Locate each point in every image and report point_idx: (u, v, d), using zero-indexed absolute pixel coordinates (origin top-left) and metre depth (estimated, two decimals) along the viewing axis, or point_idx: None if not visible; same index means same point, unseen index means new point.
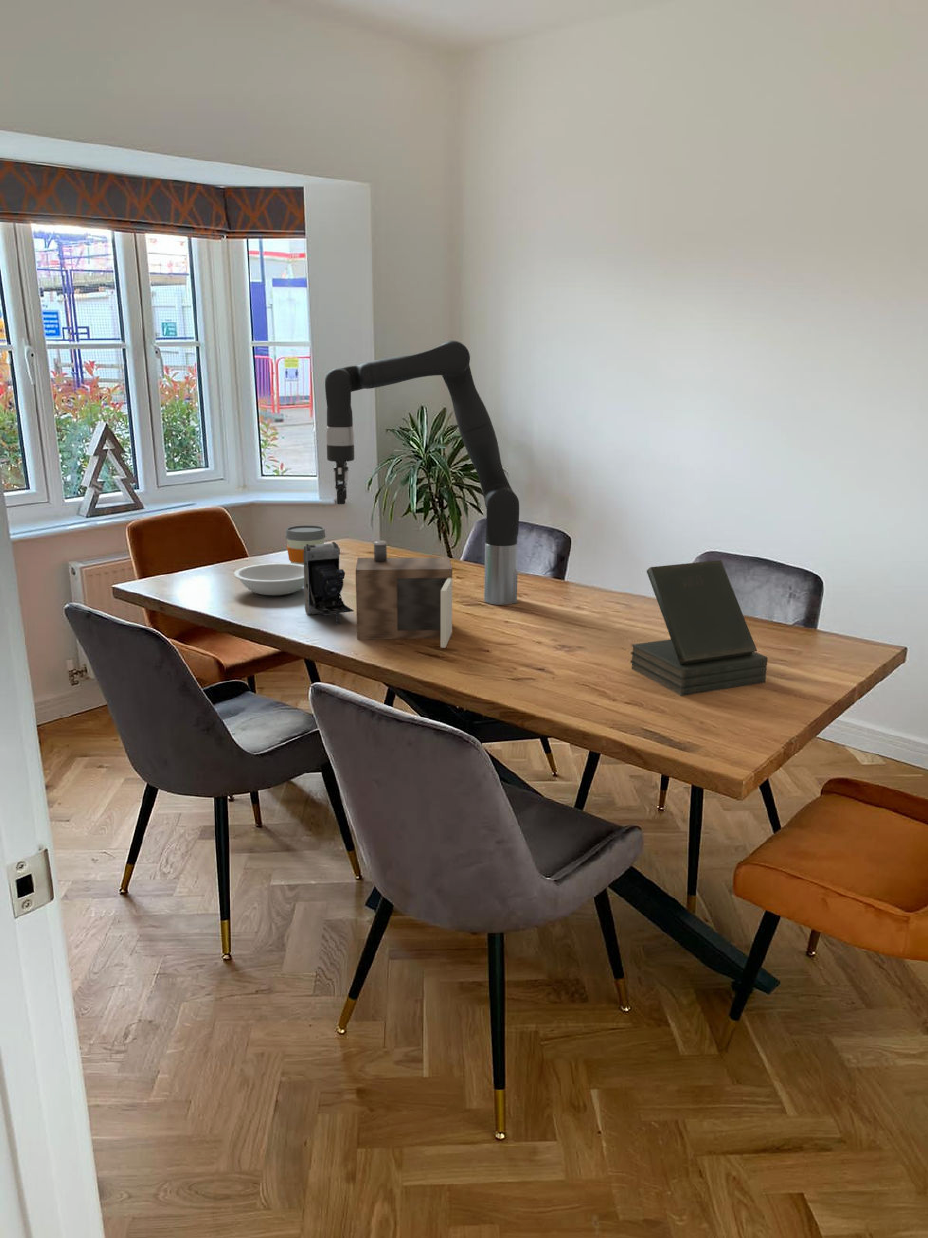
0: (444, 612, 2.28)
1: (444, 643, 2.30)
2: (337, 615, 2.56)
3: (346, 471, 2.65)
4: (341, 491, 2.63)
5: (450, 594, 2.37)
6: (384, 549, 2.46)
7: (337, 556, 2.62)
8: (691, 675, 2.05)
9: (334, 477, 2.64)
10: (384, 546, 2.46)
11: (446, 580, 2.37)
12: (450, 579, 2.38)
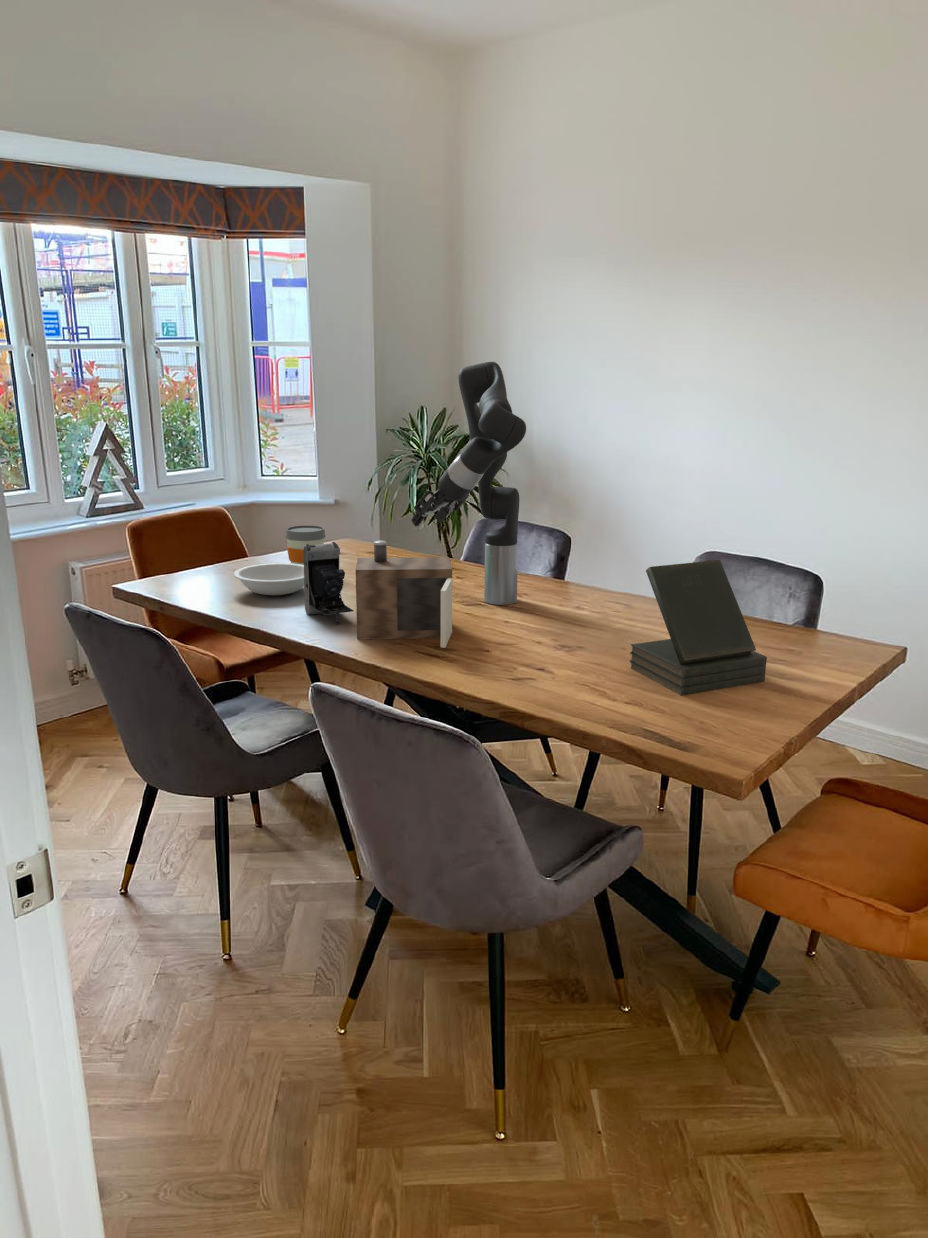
0: (444, 612, 2.28)
1: (444, 643, 2.30)
2: (337, 615, 2.56)
3: None
4: None
5: (450, 594, 2.37)
6: (384, 549, 2.46)
7: (337, 556, 2.62)
8: (691, 674, 2.06)
9: (454, 506, 2.31)
10: (384, 546, 2.46)
11: (446, 580, 2.37)
12: (450, 579, 2.38)
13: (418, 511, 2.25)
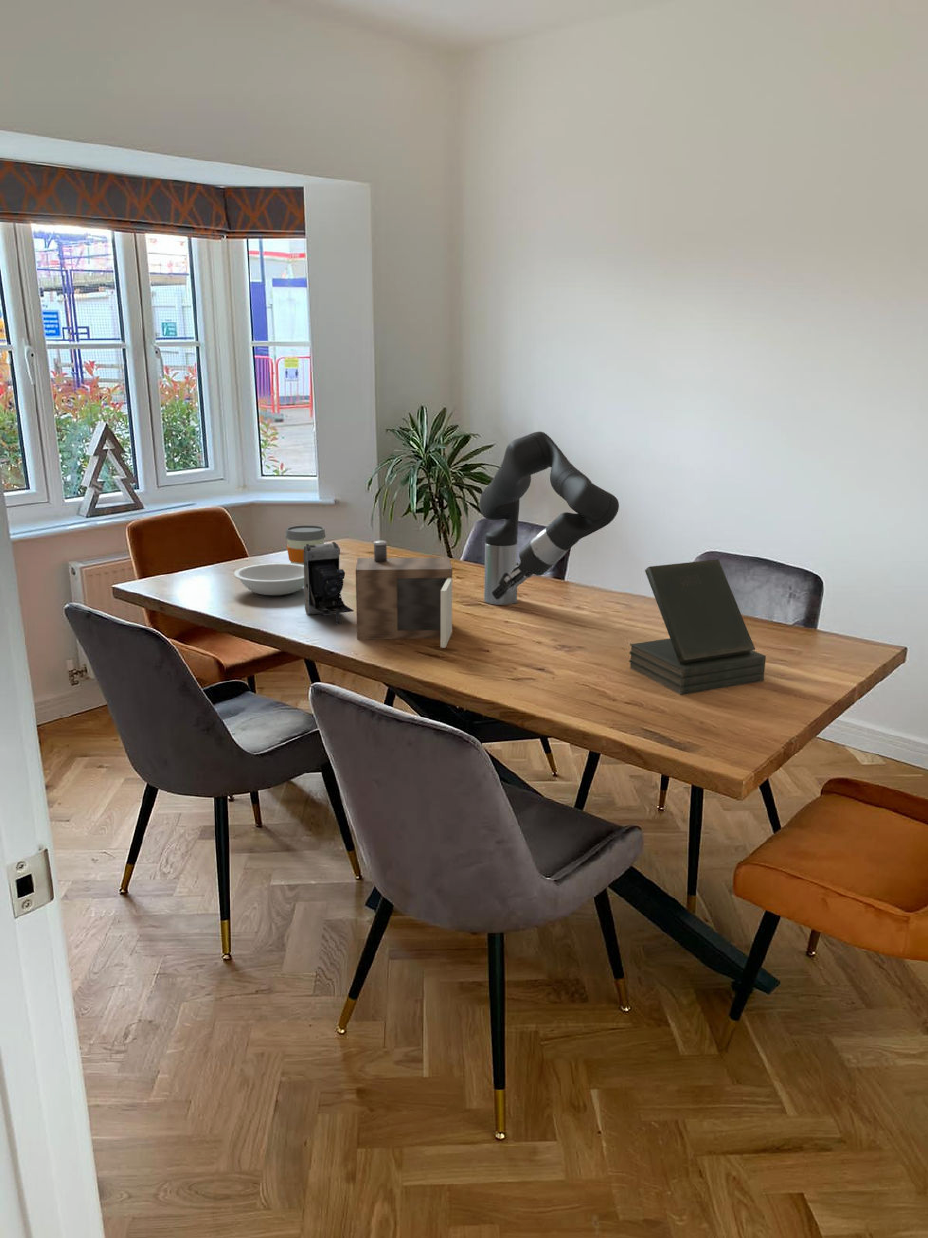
0: (444, 612, 2.28)
1: (444, 643, 2.30)
2: (337, 615, 2.56)
3: None
4: None
5: (450, 594, 2.37)
6: (384, 549, 2.46)
7: (337, 556, 2.62)
8: (691, 674, 2.06)
9: (523, 581, 2.22)
10: (384, 546, 2.46)
11: (446, 580, 2.37)
12: (450, 579, 2.38)
13: (503, 587, 2.19)
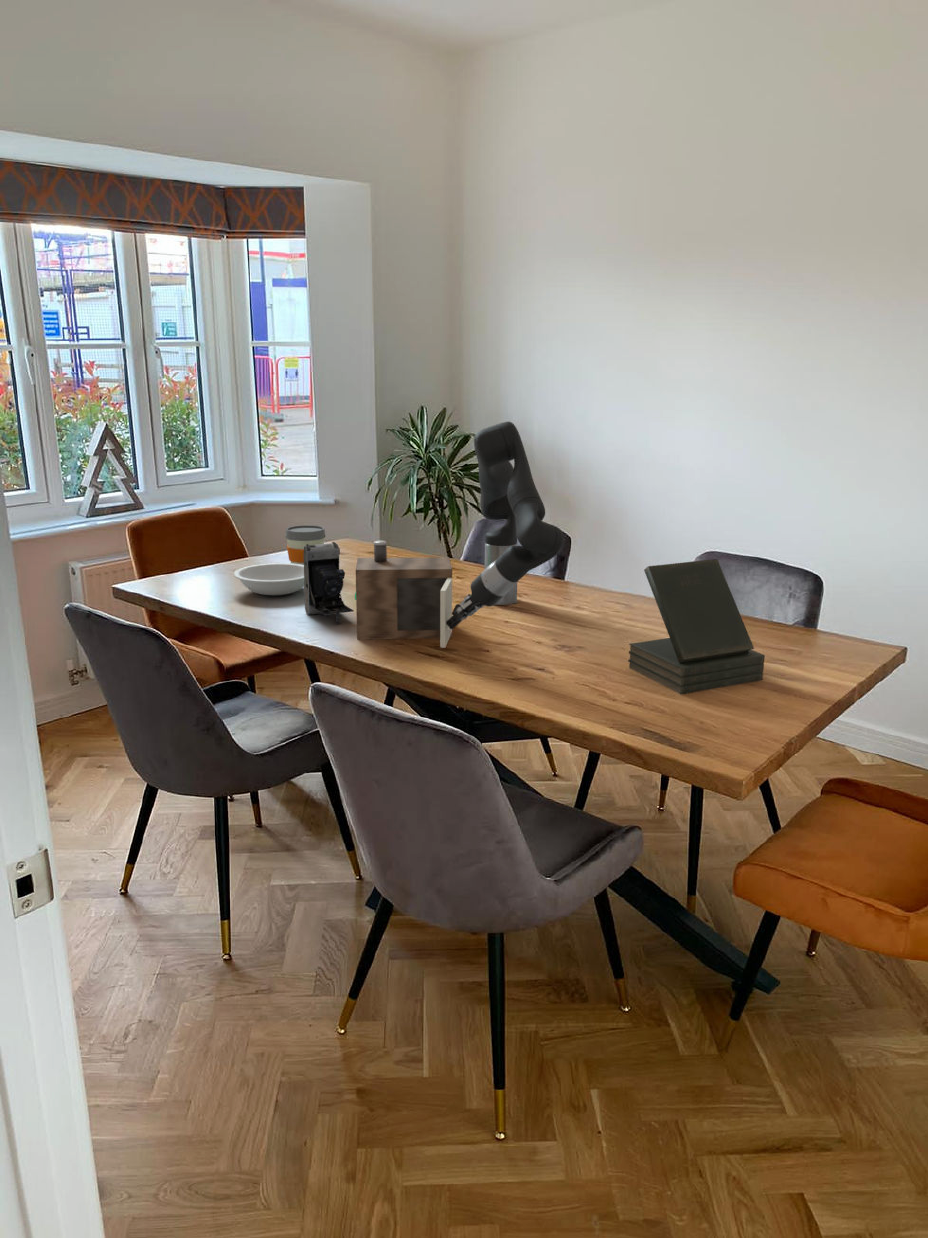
0: (444, 612, 2.28)
1: (444, 643, 2.30)
2: (337, 615, 2.56)
3: None
4: None
5: (450, 594, 2.37)
6: (384, 549, 2.46)
7: (337, 556, 2.62)
8: (690, 673, 2.06)
9: None
10: (384, 546, 2.46)
11: (446, 580, 2.37)
12: (450, 579, 2.38)
13: (456, 618, 2.26)
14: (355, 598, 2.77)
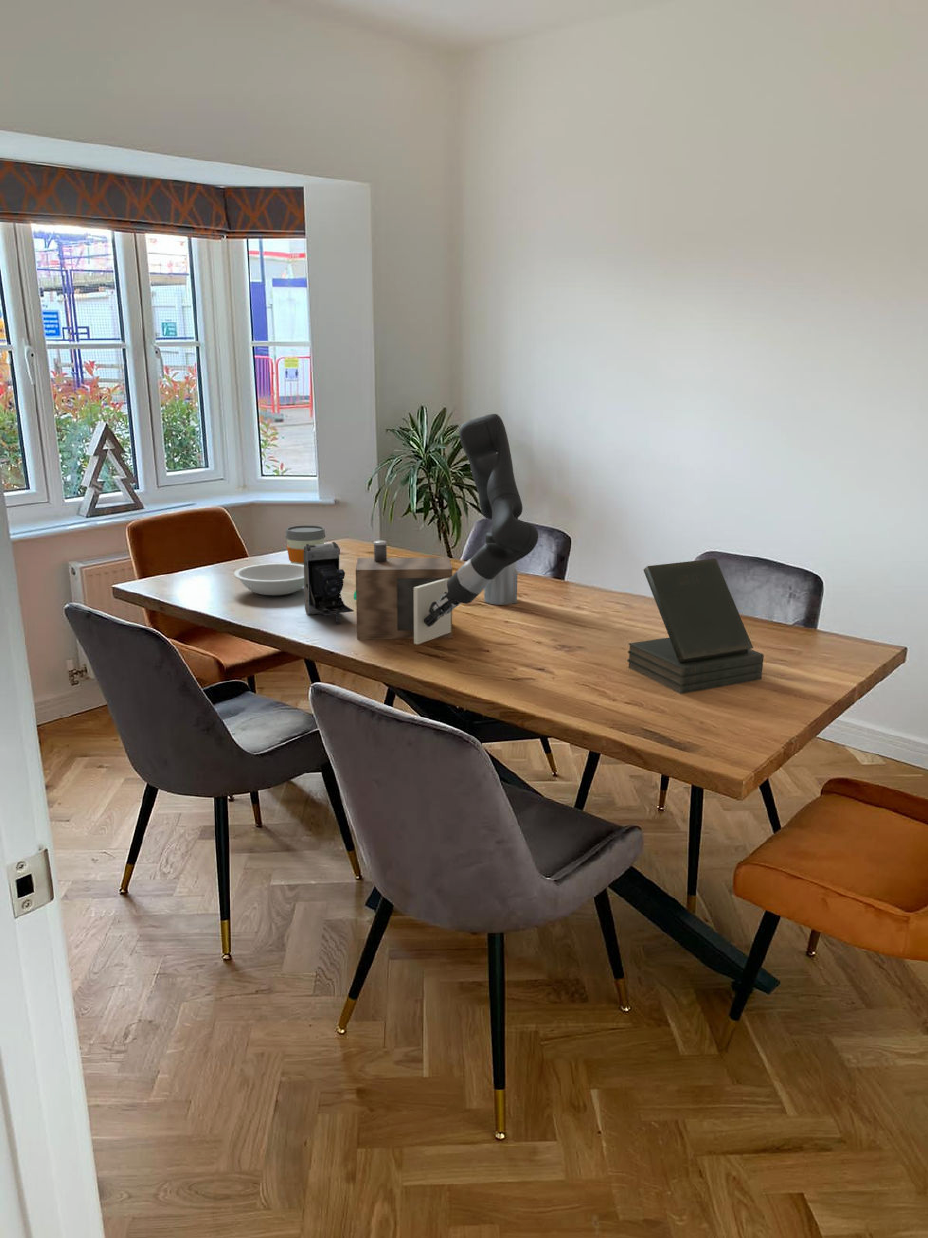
0: (416, 609, 2.30)
1: (416, 640, 2.33)
2: (337, 615, 2.56)
3: None
4: None
5: (442, 593, 2.37)
6: (384, 549, 2.46)
7: (337, 556, 2.62)
8: (690, 673, 2.07)
9: None
10: (384, 546, 2.46)
11: None
12: (446, 579, 2.38)
13: (433, 615, 2.28)
14: (354, 598, 2.77)
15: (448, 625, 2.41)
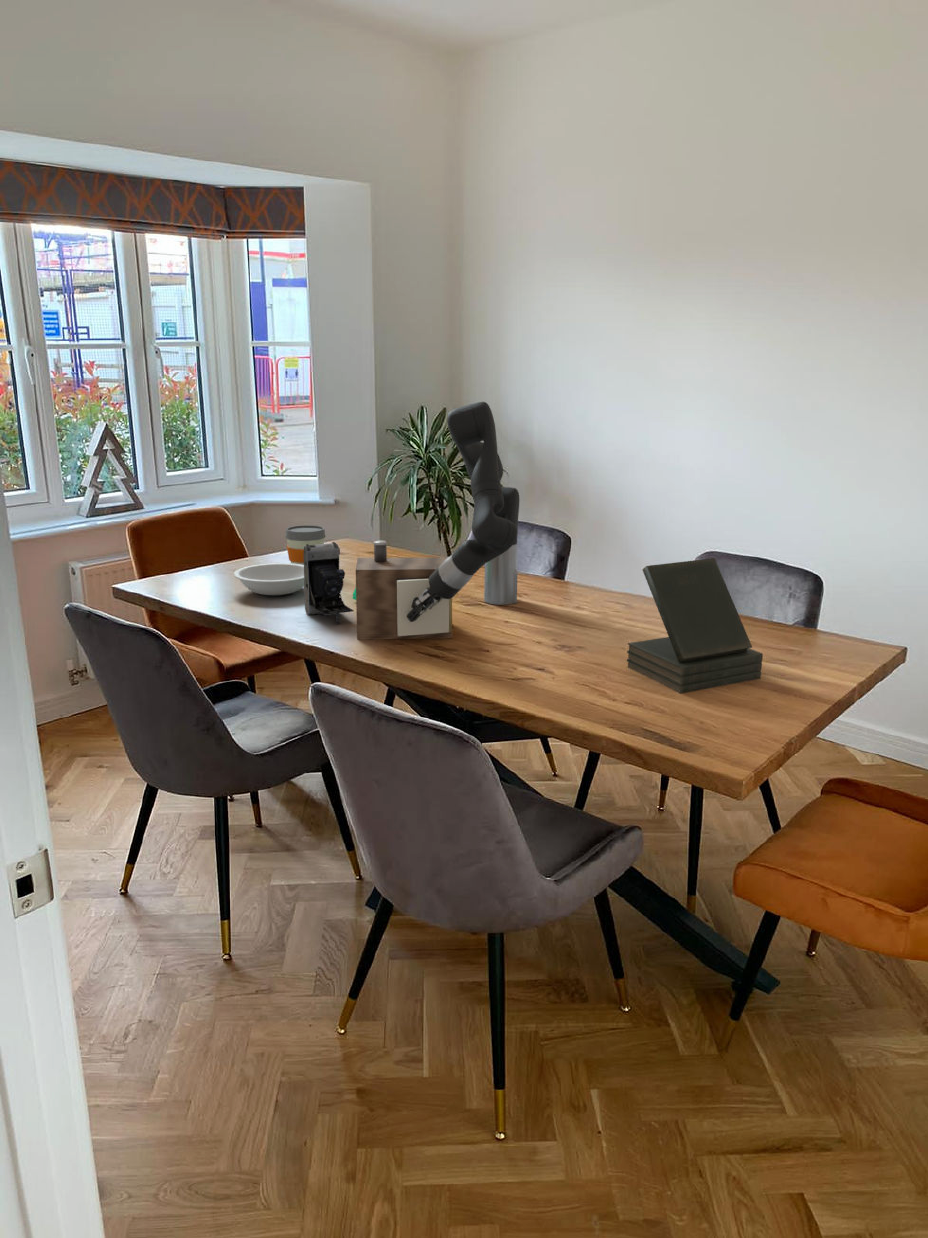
0: (398, 602, 2.37)
1: (398, 632, 2.39)
2: (337, 615, 2.56)
3: None
4: None
5: None
6: (384, 549, 2.46)
7: (337, 556, 2.62)
8: (690, 672, 2.07)
9: (435, 604, 2.35)
10: (384, 546, 2.46)
11: None
12: None
13: (415, 611, 2.33)
14: (353, 597, 2.78)
15: (445, 624, 2.42)
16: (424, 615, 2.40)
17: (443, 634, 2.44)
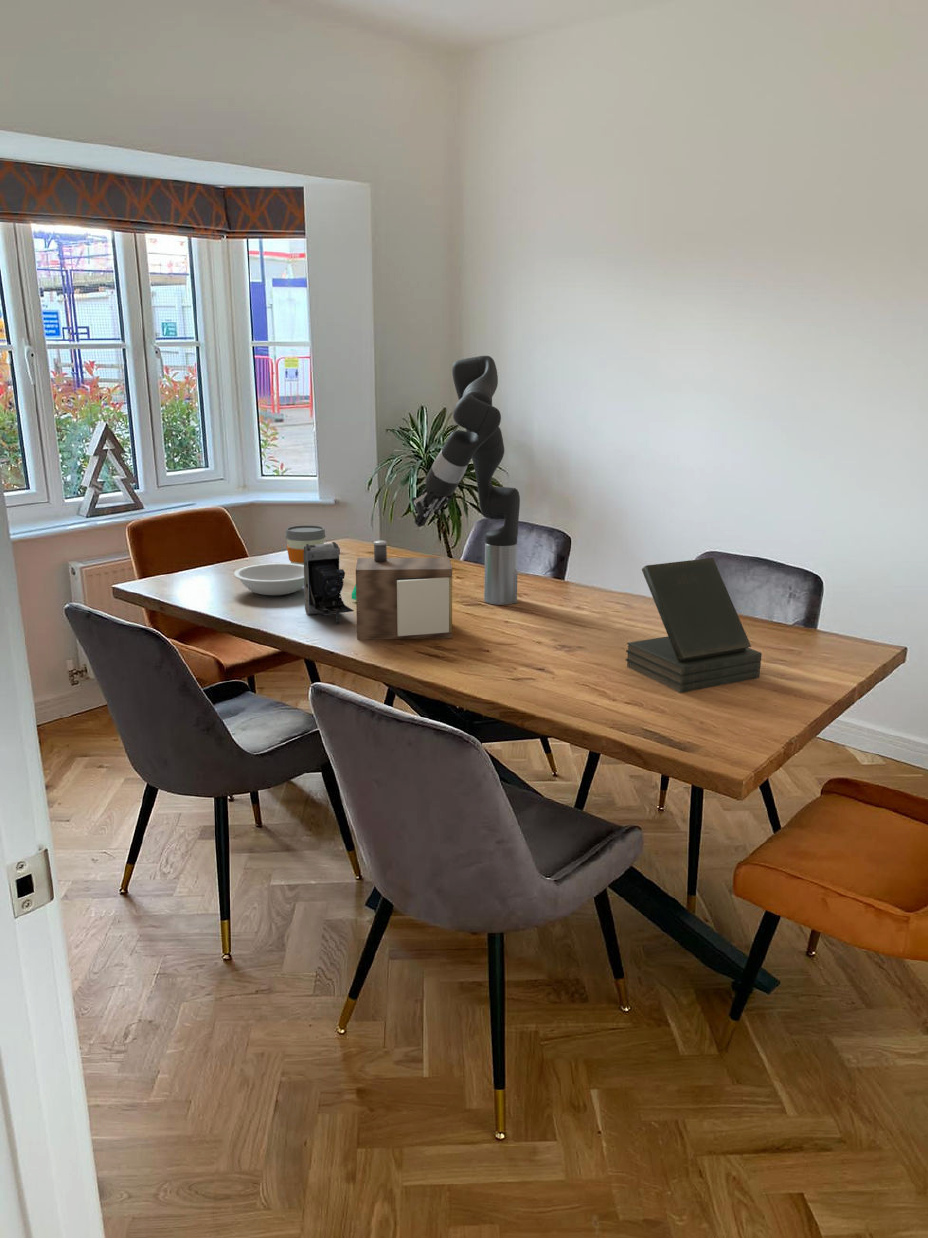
0: (397, 602, 2.37)
1: (398, 632, 2.39)
2: (337, 615, 2.56)
3: None
4: None
5: (435, 592, 2.39)
6: (384, 549, 2.46)
7: (337, 556, 2.62)
8: (690, 672, 2.07)
9: (439, 505, 2.33)
10: (384, 546, 2.46)
11: None
12: (443, 578, 2.39)
13: (418, 513, 2.31)
14: (352, 597, 2.78)
15: (445, 624, 2.42)
16: (424, 615, 2.40)
17: (443, 634, 2.44)
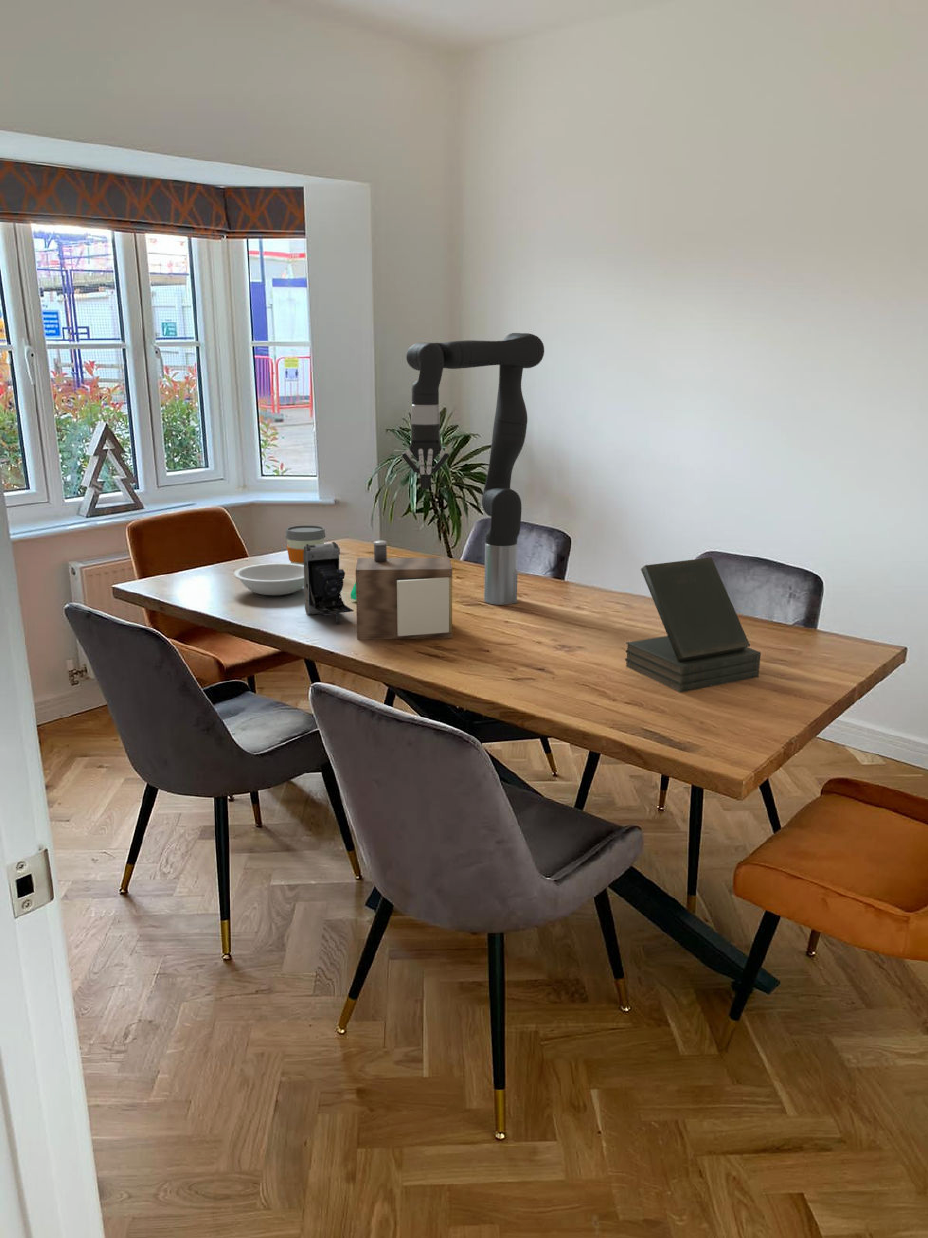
0: (397, 602, 2.37)
1: (398, 632, 2.39)
2: (337, 615, 2.56)
3: None
4: None
5: (435, 592, 2.39)
6: (384, 549, 2.46)
7: (337, 556, 2.62)
8: (689, 671, 2.08)
9: (431, 461, 2.52)
10: (384, 546, 2.46)
11: None
12: (443, 578, 2.39)
13: None
14: (351, 597, 2.78)
15: (445, 624, 2.42)
16: (424, 615, 2.40)
17: (443, 634, 2.44)
